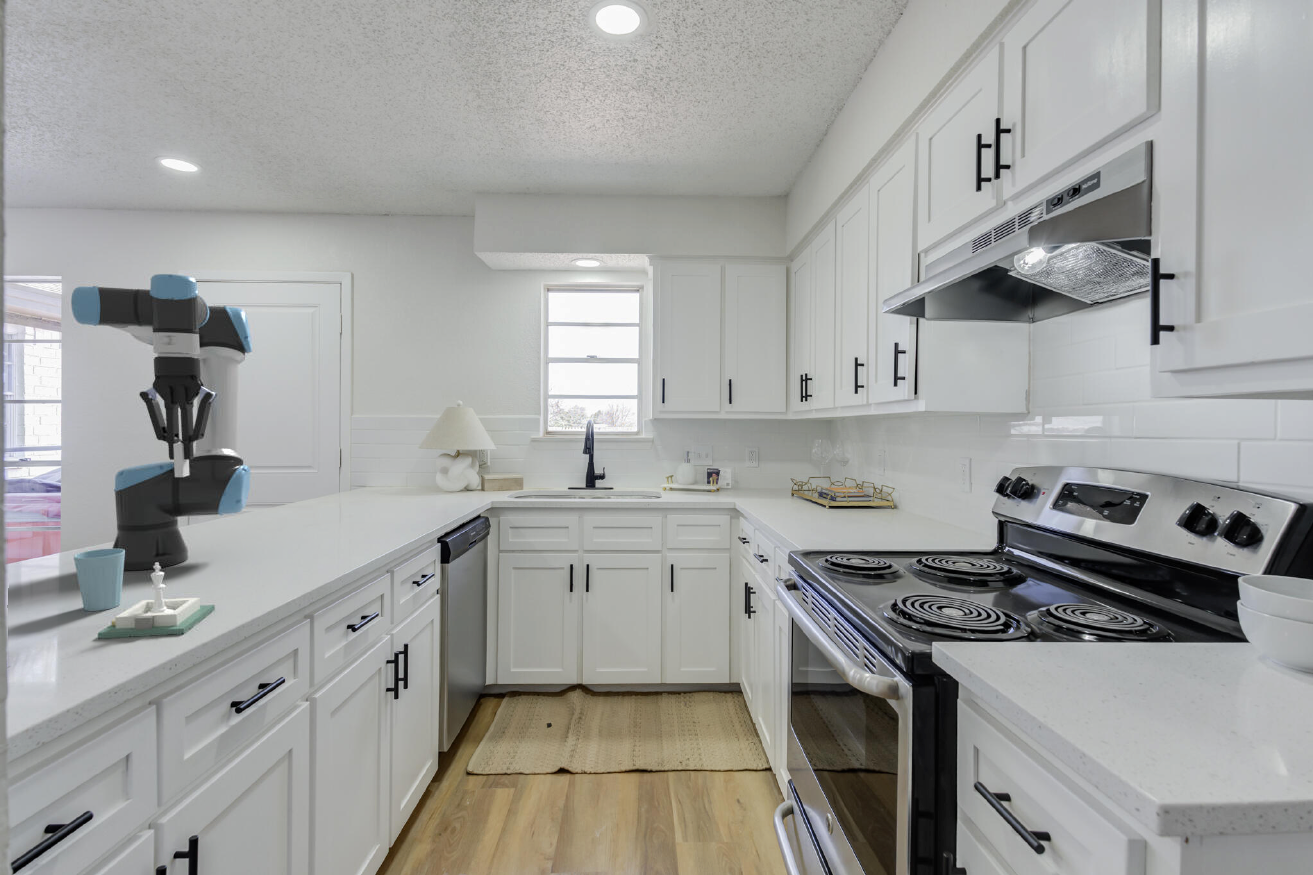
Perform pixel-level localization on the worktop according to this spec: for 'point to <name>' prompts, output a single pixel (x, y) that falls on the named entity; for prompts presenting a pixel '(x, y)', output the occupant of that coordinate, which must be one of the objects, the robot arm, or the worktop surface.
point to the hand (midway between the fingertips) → (182, 476)
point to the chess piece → (158, 591)
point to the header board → (157, 619)
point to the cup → (100, 578)
